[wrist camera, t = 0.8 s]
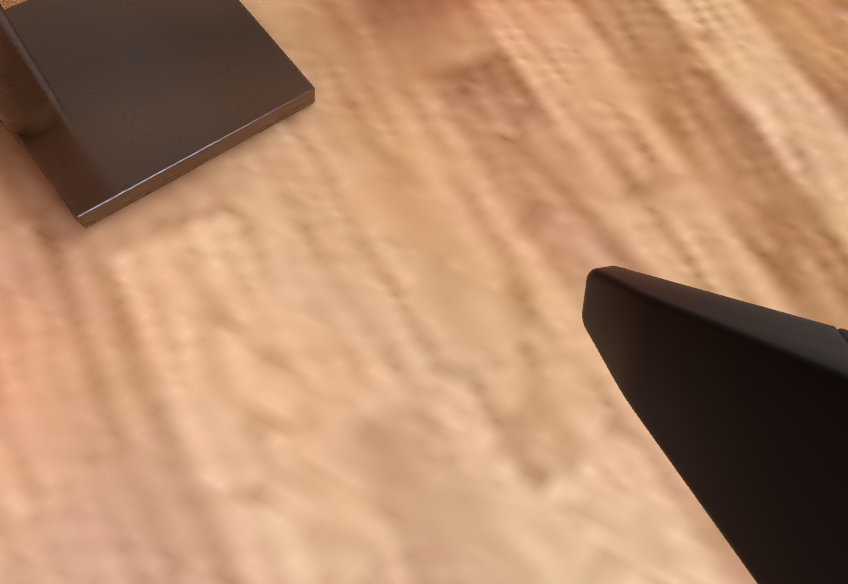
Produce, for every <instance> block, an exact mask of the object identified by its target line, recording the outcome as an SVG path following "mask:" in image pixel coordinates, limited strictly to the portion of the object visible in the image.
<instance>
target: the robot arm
mask: <svg viewBox="0 0 848 584" xmlns="http://www.w3.org/2000/svg"><path fill="white" fill-rule="evenodd" d="M582 318H583V323H584V326H585V328H586V330H587V332H588V333H589V335H590V337H591V339H592V341H593V342H594V344H595V346H596V348H597V349H598V351H599V353H600V355H601V357H602V358H603V360H604V362H605V364H606V365H607V367H608V369H609V371H610V373H611V374H612V376H613V378H614V380H615V382H616V383H617V385H618V387H619V388H620V390H621V392H622V393H623V395H624V397H625V398H626V400H627V401H628V403H629V404H630V406H631V407H632V409H633V410H634V411H635V413H636V414H637V416H638V417H639V418H640V420H641V421H642V423H643V424H644V425H645V427H646V428H647V430H648V431H649V432H650V434H651V435H652V437H653V438H654V439H655V441H656V442H657V444H658V445H659V446H660V448H661V449H662V451H663V452H664V453H665V455H666V456H667V458H668V459H669V460H670V462H671V463H672V465H673V466H674V467H675V469H676V470H677V472H678V473H679V474H680V476H681V477H682V479H683V480H684V481H685V483H686V484H687V486H688V487H689V488H690V490H691V491H692V493H693V494H694V495H695V497H696V498H697V500H698V501H699V502H700V504H701V505H702V507H703V508H704V509H705V511H706V512H707V514H708V515H709V516H710V518H711V519H712V521H713V522H714V523H715V525H716V526H717V528H718V529H719V530H720V532H721V533H722V535H723V536H724V537H725V539H726V540H727V542H728V543H729V544H730V546H731V547H732V549H733V550H734V551H735V553H736V554H737V556H738V557H739V558H740V560H741V561H742V563H743V564H744V565H745V567H746V568H747V570H748V571H749V572H750V574H751V575H752V577H753V578H754V579H755V581H756V582H757V584H848V330H845V329H838V330H837V329H836V328H835V327H834V326H830V325H827V324H823V323H820V322H816V321H812V320H809V319H805V318H802V317H798V316H794V315H791V314H787V313H783V312H780V311H776V310H773V309H769V308H765V307H762V306H758V305H755V304H751V303H747V302H744V301H740V300H737V299H733V298H729V297H726V296H722V295H718V294H715V293H711V292H708V291H704V290H700V289H697V288H693V287H690V286H686V285H682V284H679V283H675V282H671V281H668V280H664V279H661V278H657V277H653V276H650V275H646V274H643V273H639V272H635V271H632V270H628V269H625V268H621V267H617V266H608V267H602V268H596V269H593V270H592V271H590V272H589V274H588V276H587V280H586V288H585V295H584V303H583V310H582Z"/></svg>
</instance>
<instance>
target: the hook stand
mask: <svg viewBox="0 0 848 584" xmlns="http://www.w3.org/2000/svg"><path fill="white" fill-rule="evenodd" d="M314 101H315V88H314V87H313V85H312V84H311V83H310V82H309V81H308V80H307V78H306V77H305V76H304V75H303V74H302V73H301V71H300V70H299V69H298V68H297V67H296V66H295V64H294V63H293V62H292V61H291V60H290V59H289V58H288V56H287V55H286V54H285V53H284V52H283V51H282V49H281V48H280V47H279V46H278V45H277V44H276V42H275V41H274V40H273V39H272V38H271V37H270V36H269V34H268V33H267V32H266V31H265V30H264V29H263V27H262V26H261V25H260V24H259V23H258V22H257V20H256V19H255V18H254V17H253V16H252V15H251V13H250V12H249V11H248V10H247V9H246V8H245V7H244V5H243V4H242V3H241V2H240V1H239V0H27V1H25V2H22V3H20V4H17V5H15V6H12V7H10V8H7V9H5V10H4V9H3V7H2V6H1V4H0V120H1V121H2V122H3V124H4V125H5V126H6V127H7V129H8V130H9V131H10V132H11V134H12V135H13V136H14V138H15V139H16V140H17V141H18V142H19V143H21V144H22V145H23V146H24V147H25V149H26V150H27V151H28V153H29V154H30V156H31V157H32V158H33V160H34V161H35V162H36V164H37V165H38V166H39V168H40V169H41V170H42V172H43V173H44V175H45V176H46V177H47V179H48V180H49V181H50V183H51V184H52V185H53V187H54V188H55V189H56V191H57V192H58V194H59V195H60V196H61V198H62V199H63V200H64V202H65V203H66V204H67V206H68V207H69V208H70V210H71V211H72V213H73V214H74V215H75V217H76V218H77V219H78V220H79V222H80V223H81V224H82V225H83V227H85V228H86V227H88V226H90V225H92V224H94V223H96V222H97V221H99V220H101V219H103V218H105V217H106V216H108V215H110V214H112V213H114V212H115V211H117V210H119V209H121V208H123V207H125V206H126V205H128V204H130V203H132V202H134V201H135V200H137V199H139V198H141V197H143V196H145V195H146V194H148V193H150V192H152V191H154V190H155V189H157V188H159V187H161V186H163V185H164V184H166V183H168V182H170V181H172V180H174V179H175V178H177V177H179V176H181V175H183V174H184V173H186V172H188V171H190V170H192V169H193V168H195V167H197V166H199V165H201V164H203V163H204V162H206V161H208V160H210V159H212V158H213V157H215V156H217V155H219V154H221V153H223V152H224V151H226V150H228V149H230V148H232V147H233V146H235V145H237V144H239V143H241V142H242V141H244V140H246V139H248V138H250V137H252V136H253V135H255V134H257V133H259V132H261V131H262V130H264V129H266V128H268V127H270V126H271V125H273V124H275V123H277V122H279V121H281V120H282V119H284V118H286V117H288V116H290V115H291V114H293V113H295V112H297V111H299V110H300V109H302V108H304V107H306V106H308V105H310V104H311V103H313V102H314Z"/></svg>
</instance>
